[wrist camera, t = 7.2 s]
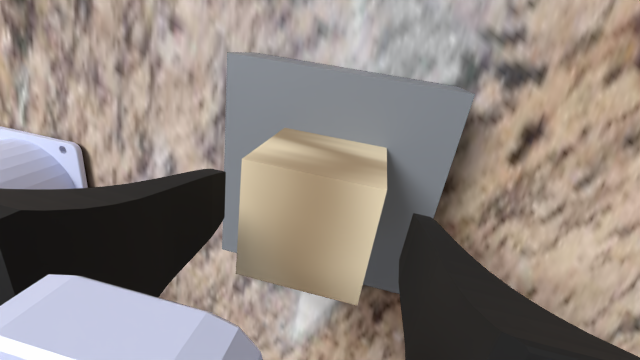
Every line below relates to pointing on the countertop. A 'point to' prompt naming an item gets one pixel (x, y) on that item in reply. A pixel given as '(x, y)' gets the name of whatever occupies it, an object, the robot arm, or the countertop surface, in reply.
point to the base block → (348, 135)
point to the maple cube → (310, 212)
